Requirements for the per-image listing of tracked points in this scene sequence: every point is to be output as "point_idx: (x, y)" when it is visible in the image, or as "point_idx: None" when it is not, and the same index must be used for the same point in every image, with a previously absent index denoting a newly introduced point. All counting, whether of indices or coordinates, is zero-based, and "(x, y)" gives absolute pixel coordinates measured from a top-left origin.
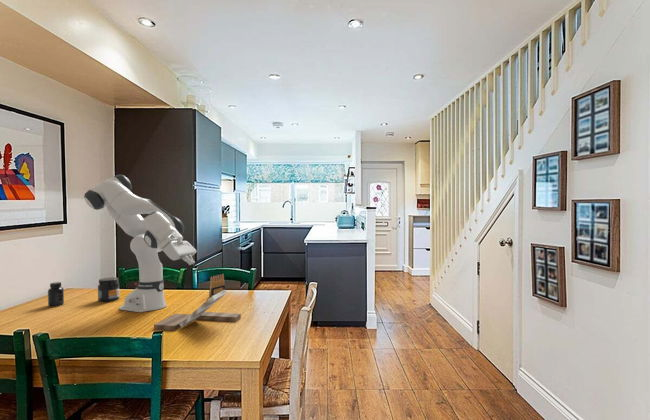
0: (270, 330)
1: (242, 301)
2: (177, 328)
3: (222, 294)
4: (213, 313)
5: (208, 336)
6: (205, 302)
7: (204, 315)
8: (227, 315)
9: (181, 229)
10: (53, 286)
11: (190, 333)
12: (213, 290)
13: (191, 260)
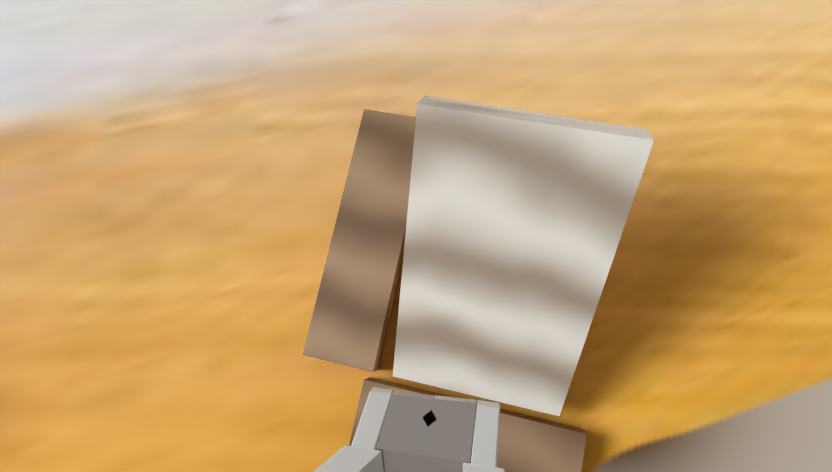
0: None
1: (48, 182)
2: (556, 423)
3: (500, 108)
4: (348, 267)
5: (669, 209)
6: (628, 212)
7: (384, 311)
8: (393, 174)
9: None
10: None
11: (626, 321)
12: None
13: (460, 439)
